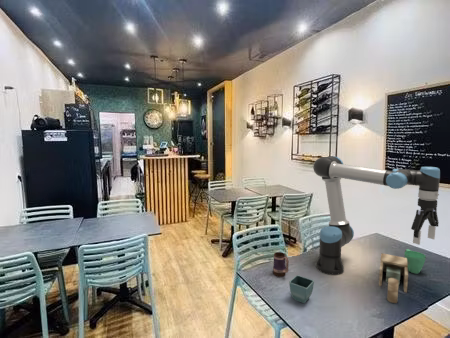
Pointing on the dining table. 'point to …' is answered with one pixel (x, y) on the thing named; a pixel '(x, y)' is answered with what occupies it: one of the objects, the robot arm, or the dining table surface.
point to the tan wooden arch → (394, 263)
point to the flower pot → (301, 288)
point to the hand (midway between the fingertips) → (423, 241)
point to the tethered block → (392, 283)
